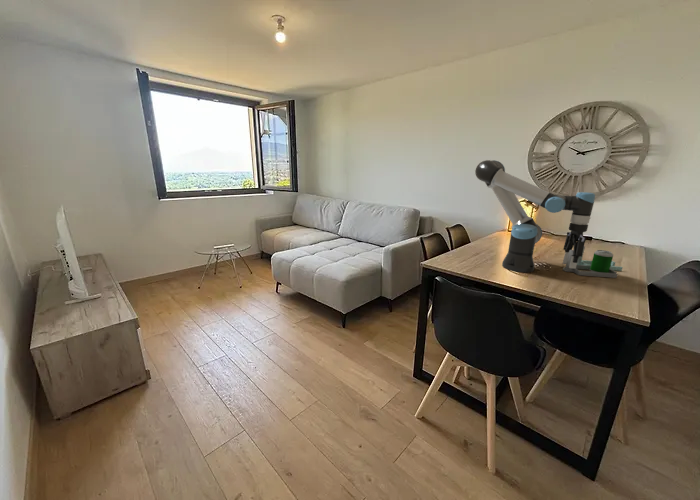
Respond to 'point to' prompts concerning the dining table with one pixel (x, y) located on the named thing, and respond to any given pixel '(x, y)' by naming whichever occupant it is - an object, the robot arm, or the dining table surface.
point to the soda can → (601, 261)
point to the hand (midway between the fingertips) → (569, 265)
